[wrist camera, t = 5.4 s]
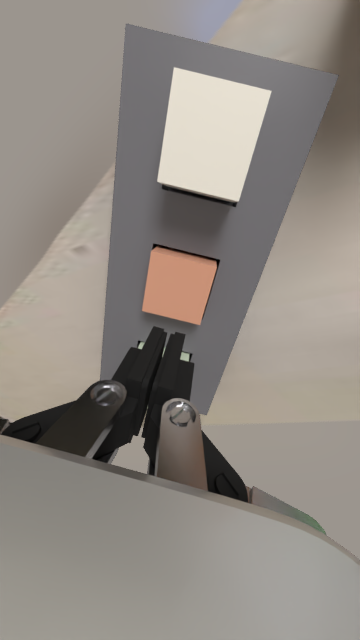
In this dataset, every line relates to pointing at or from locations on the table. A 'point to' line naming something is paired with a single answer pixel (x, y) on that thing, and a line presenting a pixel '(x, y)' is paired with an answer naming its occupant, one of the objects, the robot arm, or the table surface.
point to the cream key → (210, 134)
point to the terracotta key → (178, 284)
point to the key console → (200, 197)
